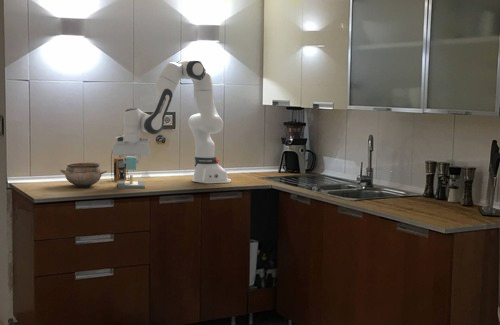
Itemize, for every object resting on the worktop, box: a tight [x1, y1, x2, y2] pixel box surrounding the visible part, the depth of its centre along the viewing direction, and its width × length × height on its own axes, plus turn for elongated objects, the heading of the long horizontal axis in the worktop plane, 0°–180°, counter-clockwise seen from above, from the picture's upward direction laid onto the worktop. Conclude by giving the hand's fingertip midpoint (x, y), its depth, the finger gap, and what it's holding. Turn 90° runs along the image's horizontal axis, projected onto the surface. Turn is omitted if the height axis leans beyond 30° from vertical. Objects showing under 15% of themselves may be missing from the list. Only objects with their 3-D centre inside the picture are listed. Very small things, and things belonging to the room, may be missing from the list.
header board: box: [117, 174, 146, 190], centre depth 368 cm, size 14×18×6 cm
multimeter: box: [110, 148, 130, 183], centre depth 384 cm, size 15×10×20 cm
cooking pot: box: [59, 161, 108, 189], centre depth 361 cm, size 25×19×12 cm
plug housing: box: [125, 155, 137, 171], centre depth 366 cm, size 5×11×6 cm, turn 11°
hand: (131, 163), depth 367 cm, fingers closed on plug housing, 5 cm apart
